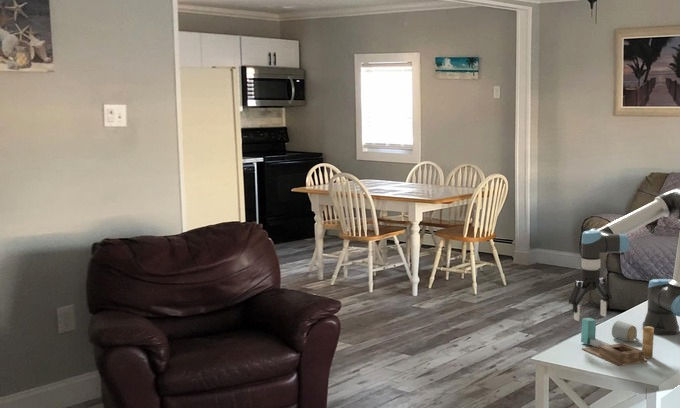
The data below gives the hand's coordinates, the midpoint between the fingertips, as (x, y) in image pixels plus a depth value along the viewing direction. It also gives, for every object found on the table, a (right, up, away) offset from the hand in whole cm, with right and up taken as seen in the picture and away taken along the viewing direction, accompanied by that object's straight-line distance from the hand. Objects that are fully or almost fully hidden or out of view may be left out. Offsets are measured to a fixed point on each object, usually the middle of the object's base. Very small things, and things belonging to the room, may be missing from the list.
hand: (590, 318), depth 339 cm
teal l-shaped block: (+2, -11, -5) cm, 13 cm away
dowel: (+18, -13, -15) cm, 27 cm away
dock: (+5, -13, -13) cm, 19 cm away
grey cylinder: (+18, -11, +9) cm, 22 cm away
